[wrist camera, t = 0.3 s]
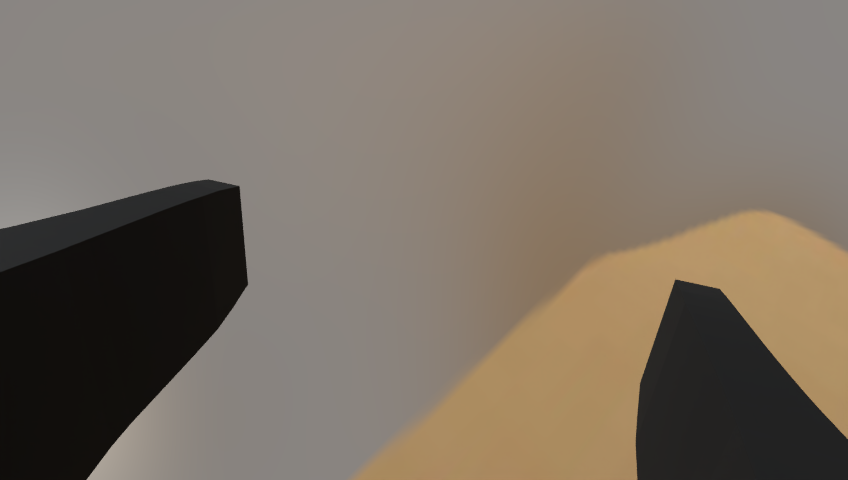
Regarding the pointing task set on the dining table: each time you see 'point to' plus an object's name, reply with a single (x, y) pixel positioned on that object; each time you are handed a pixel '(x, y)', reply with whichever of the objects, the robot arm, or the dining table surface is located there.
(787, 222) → the dining table surface
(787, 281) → the dining table surface
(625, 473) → the dining table surface
